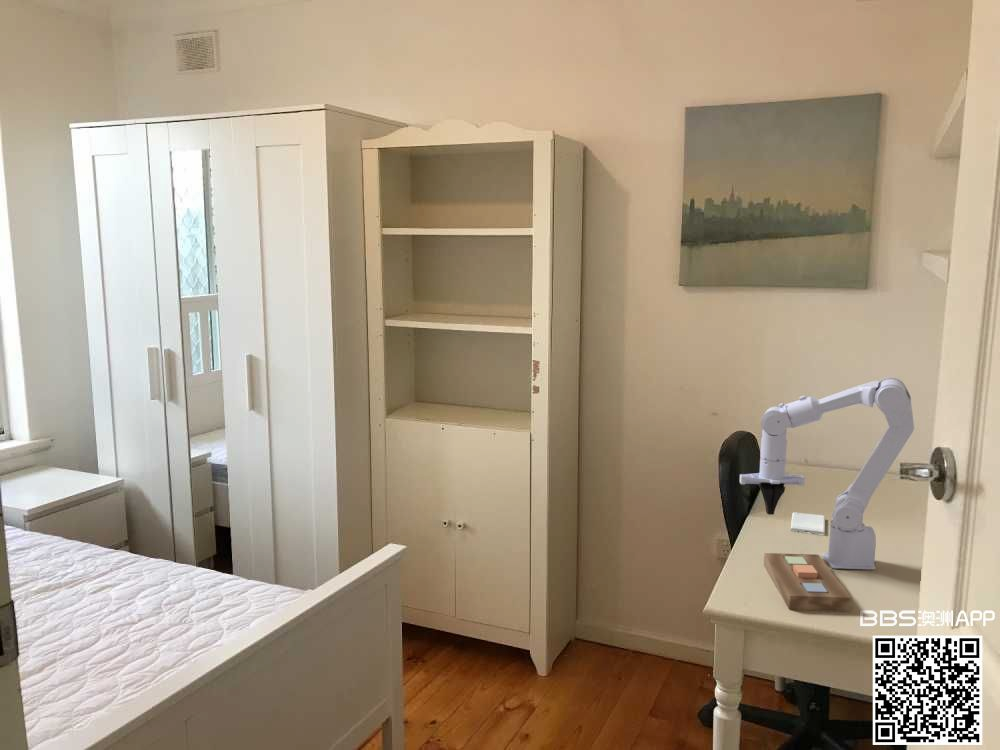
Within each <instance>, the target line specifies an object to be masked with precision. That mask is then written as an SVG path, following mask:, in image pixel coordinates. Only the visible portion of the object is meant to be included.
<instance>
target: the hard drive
mask: <svg viewBox="0 0 1000 750" xmlns="http://www.w3.org/2000/svg"><path fill="white" fill-rule="evenodd" d="M791 531H799V532H810V533H815V534H824V535H825V536H826V516H825V515H822V514H814V513H813V514H812V513H805V512H804V513H803V512H795V511H794V512H792V515H791V521H790V532H791ZM799 532H798V533H799ZM815 534H814V535H815Z"/></svg>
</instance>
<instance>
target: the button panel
mask: <svg viewBox="0 0 1000 750" xmlns="http://www.w3.org/2000/svg"><path fill="white" fill-rule="evenodd" d="M785 556H792V557H803V558H804V559H805V561H806V562H807V564H808V565H812V566H813V567H814V568H815V570H816V571H817V573H818V575H817V579H810V578H797V577H796V576H795V574H794V573H793V565H788V564H787V562H786V561H785V559H784V558H785ZM764 566H765V567H764ZM763 567H764V568H766V569H765V570H766V572H767V574H768V576H769V577H770V578H771V581H772V582H773V585H774V586H775V588H776V590H777V591H778V593H779V595H780V597H781V598H782V600H783V601H784V603H785V605H786V606H787V609H788V610H793V611H794V610H795V611H797V610H799V611H818V612H819V611H821V612H822V611H825V612H846V613H847V612H851V603H852V596H850V594H849V593H848V592H847V590H846V589H845V588H844V587H843V585H842V584H841V582H840V581H839V580H838V579H837V577H836V576H835V575H834V573H833V572H832V571H831V570H830V568H829V566H827V564H826V562H825V561H824V560H823V559H822V558H821V556H820V555H819V554H810V553H809V554H807V553H781V552H779V553H777V552H776V553H773V552H764V555H763ZM802 583H822V585H823V586H824V587H825V589H826V590H827V592H828V593H806V591H805V590H804V588H803V587H802Z"/></svg>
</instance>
